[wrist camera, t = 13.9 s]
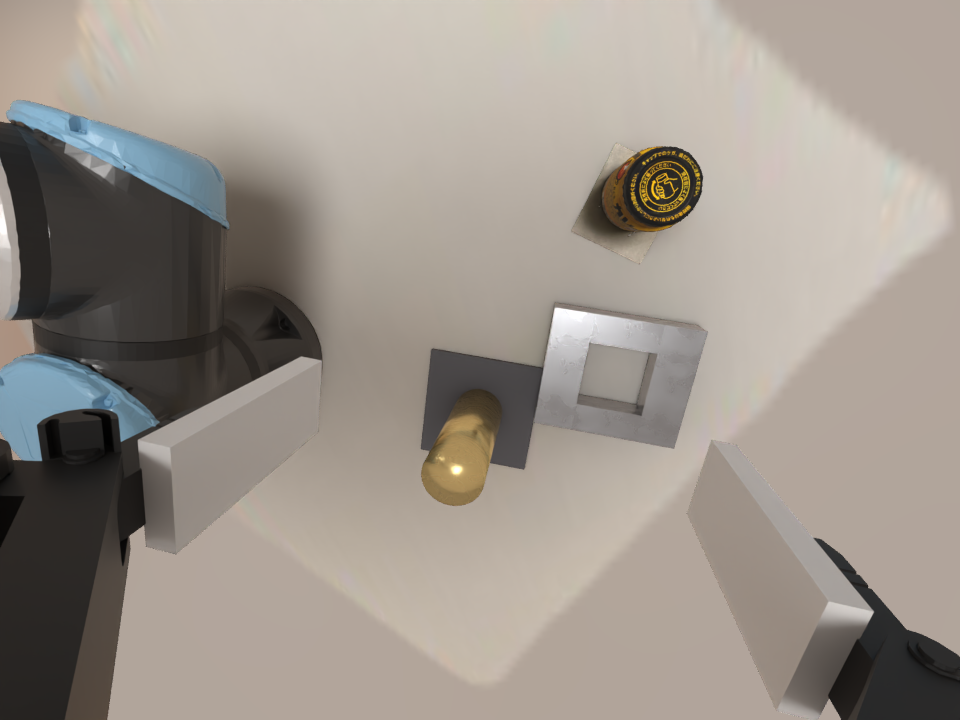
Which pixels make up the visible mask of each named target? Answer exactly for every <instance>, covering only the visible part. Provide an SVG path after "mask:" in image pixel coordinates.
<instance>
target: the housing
mask: <svg viewBox="0 0 960 720" xmlns="http://www.w3.org/2000/svg"><path fill="white" fill-rule="evenodd" d="M707 333H708V332H707V331H706V330H704V329H703V328H701V327H700V326H699V325H694V324H687V323H681V322H675V321H668V320H662V319H656V318H650V317H643V316H637V315H631V314H624V313H618V312H612V311H605V310H599V309H593V308H587V307H580V306H574V305H568V304H561V303H555V305H554V311H553V316H552V322H551V327H550V332H549V338H548V343H547V349H546V354H545V360H544V365H543V371H542V376H541V382H540V387H539V393H538V398H537V403H536V409H535V416H534V423H540V424H545V425H550V426H556V427H561V428H566V429H572V430H577V431H582V432H588V433H593V434H598V435H604V436H609V437H614V438H620V439H625V440H630V441H636V442H641V443H646V444H652V445H657V446H662V447H668V448H673V449H674V447H675V444H676V440H677V437H678V433H679V430H680V426H681V423H682V419H683V416H684V413H685V409H686V406H687V402H688V399H689V395H690V392H691V388H692V385H693V382H694V378H695V375H696V371H697V368H698V364H699V361H700V357H701V354H702V351H703V347H704V344H705V340H706V337H707ZM589 343H595V344H601V345H607V346H613V347H619V348H625V349H631V350H637V351H643V352H649V353H650V354H649V358H648V362H647V365H646V369H645V373H644V377H643V381H642V385H641V389H640V393H639V397H638V401H637V405H636V404H630V403H624V402H619V401H613V400H608V399H602V398H597V397H591V396H585V395H580V394H579V389H580V385H581V380H582V375H583V371H584V366H585V361H586V357H587V352H588V347H589Z"/></svg>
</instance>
